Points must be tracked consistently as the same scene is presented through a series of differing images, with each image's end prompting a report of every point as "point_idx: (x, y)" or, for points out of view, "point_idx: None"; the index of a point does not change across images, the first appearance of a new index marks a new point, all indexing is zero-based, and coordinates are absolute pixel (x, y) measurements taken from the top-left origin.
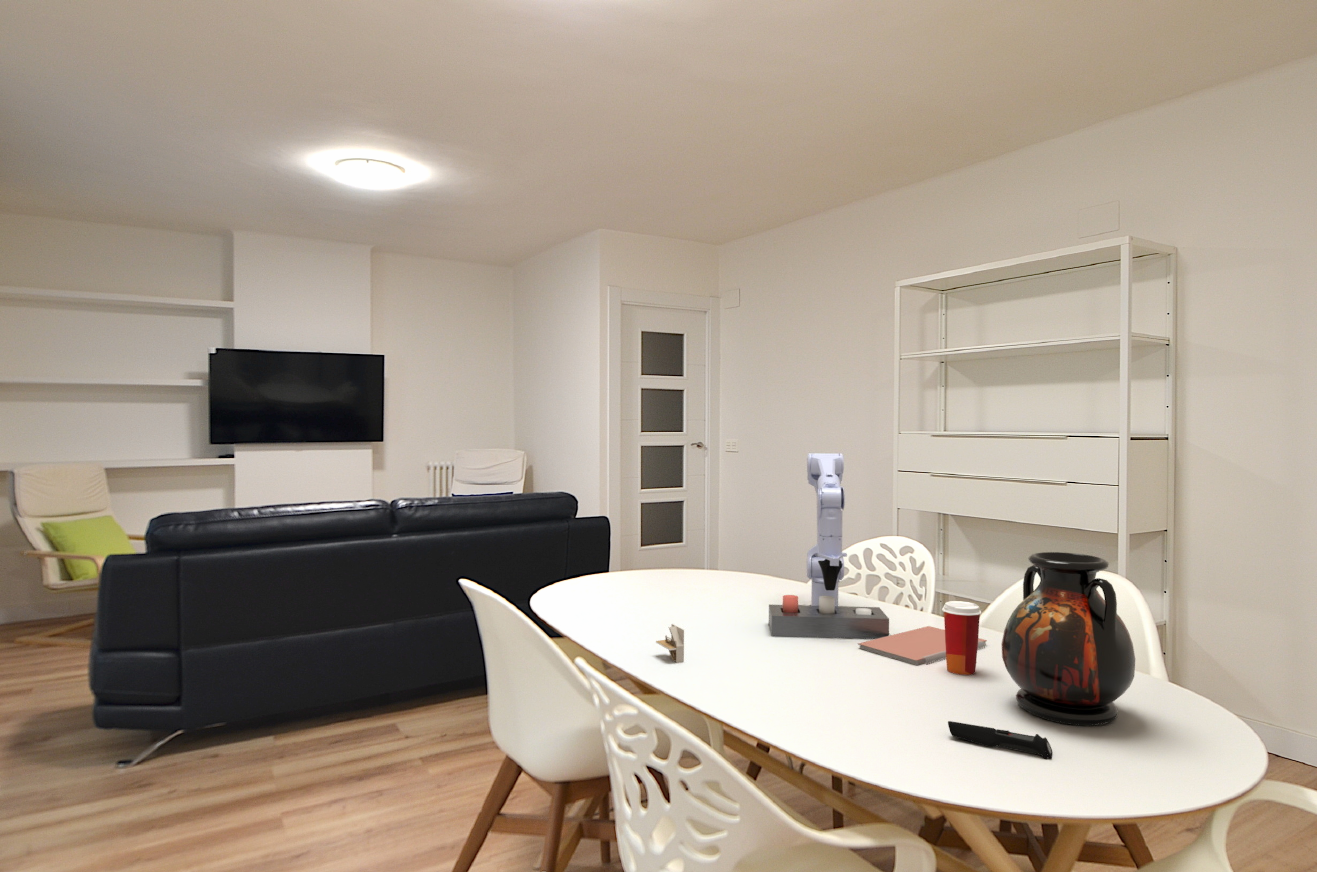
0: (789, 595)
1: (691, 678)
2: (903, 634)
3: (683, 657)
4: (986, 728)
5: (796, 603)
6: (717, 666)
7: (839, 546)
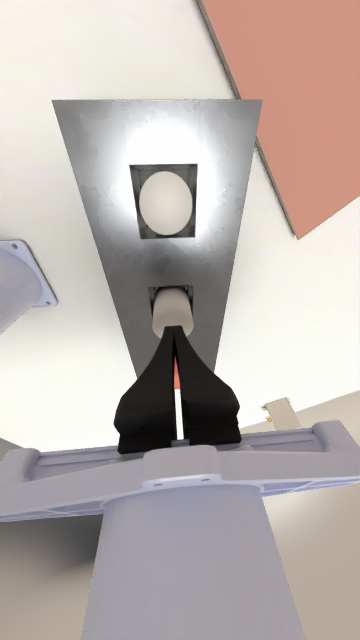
0: None
1: (329, 390)
2: (242, 34)
3: (286, 401)
4: None
5: None
6: (307, 381)
7: (283, 607)
